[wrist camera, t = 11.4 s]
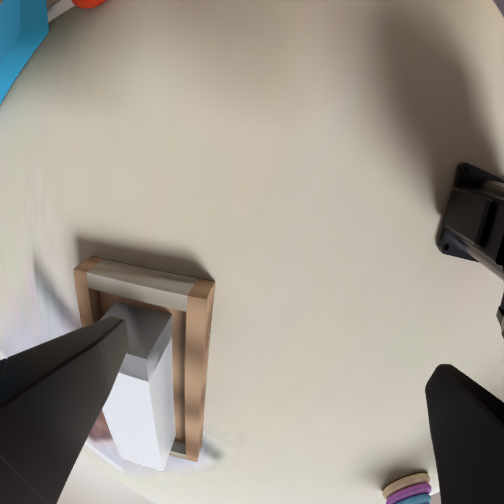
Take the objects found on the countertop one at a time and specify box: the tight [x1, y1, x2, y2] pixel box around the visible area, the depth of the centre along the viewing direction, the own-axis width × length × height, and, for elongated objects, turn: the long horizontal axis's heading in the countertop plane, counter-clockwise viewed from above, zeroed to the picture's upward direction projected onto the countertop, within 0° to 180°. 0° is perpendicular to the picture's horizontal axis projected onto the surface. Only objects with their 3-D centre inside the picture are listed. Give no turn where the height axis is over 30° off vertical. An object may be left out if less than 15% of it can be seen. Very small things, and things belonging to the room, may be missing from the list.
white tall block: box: [100, 301, 176, 471], centre depth 21 cm, size 16×4×5 cm, turn 171°
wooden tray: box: [74, 256, 215, 462], centre depth 23 cm, size 21×10×2 cm, turn 171°
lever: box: [0, 0, 106, 104], centre depth 13 cm, size 7×7×18 cm
